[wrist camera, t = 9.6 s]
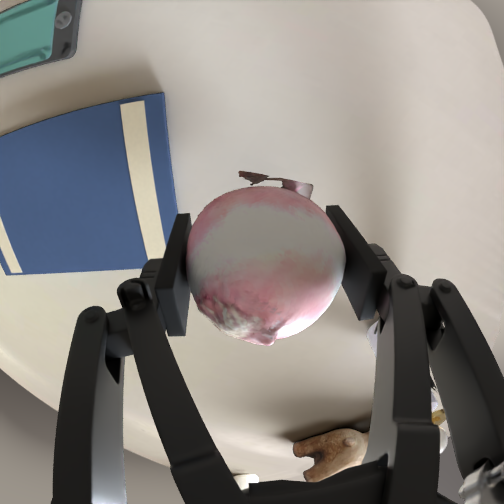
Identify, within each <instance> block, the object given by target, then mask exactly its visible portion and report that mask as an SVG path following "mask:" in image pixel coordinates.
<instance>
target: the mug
mask: <svg viewBox="0 0 504 504" xmlns="http://www.w3.org/2000/svg"><path fill="white" fill-rule="evenodd" d="M233 477H234V479H235V480H236V482H237V484H238V486H239V487H240V489H241V490H243V489H246V488H249V484H248V483H254V482H258V477H257V476H256V475H251V474H244V475H237V476H233Z"/></svg>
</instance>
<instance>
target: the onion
mask: <svg viewBox="0 0 504 504" xmlns="http://www.w3.org/2000/svg"><path fill="white" fill-rule="evenodd" d="M238 173H239V177H244V178H245V179H247V180H249V181H250V182H253V183H252V184H250V185H253V184H257V183H259V182H262V181H264V180H279V181H282V182H283V183H282V185H283V187H281V188H279V187H271V186H265V187H264V186H257V187H247V188H241V189H237V190H234V191H231V192H228V193H225V194H223V195H221V196H219V197H218V198H216V199H214V200H213V201H212V202H210V203H209V204H208V205H207V206H206V207H205V208H204V210H203V211H202V212H201V213H200V214H199V215H198V218H197V219H196V221H195V222H194V224H193V226H192V228H191V231H190V234H189V238H188V243H187V253H186V258H185V259H186V261H185V262H186V272H187V280H188V284H189V288H190V290H191V293H192V294H193V297H194V300H195V302H196V304H197V307H198V310H199V311H200V312H201V313H202V314H203V315H204V316H205V317H206V318H207V319H209V320H210V321H211V322H212V323H213V324H214V325H215V326H216V327H217V328H218V329H219V330H220V331H222V332H223V333H225V334H227V335H229V336H231V337H235V338H238V339H241V340H244V341H247V342H250V343H253V344H258V345H266V346H269V345H272V344H273V343H274V342H275V339H281V338H285V337H289V336H291V335H294V334H296V333H298V332H300V331H302V330H304V329H305V328H307V327H308V326H310V325H311V324H312V323H314V322H315V321H316V320H317V319H318V318H319V317H320V316H321V315H322V314H323V313H324V312H325V310H326V309H327V308H328V307H329V305H330V304H331V302H332V301H333V299H334V297H335V295H336V293H337V291H338V289H339V287H340V285H341V282H342V279H343V275H344V270H345V265H346V253H345V249H344V245H343V243H342V240H341V238H340V236H339V234H338V232H337V231H336V229H335V227H334V225H333V223H332V222H331V220H330V219H329V218H328V216H327V215H326V213H325V212H324V211H323V210H322V209H321V208H320V207H319V206H318V205H317V204H315V203H314V202H313V201H311V200H310V197H311V194H312V191H313V185H312V184H308V183H303V182H298V181H293V180H288V179H283V178H267V177H268V176H267V175H263V174H258V173H252V172H245V171H239V172H238Z"/></svg>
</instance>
